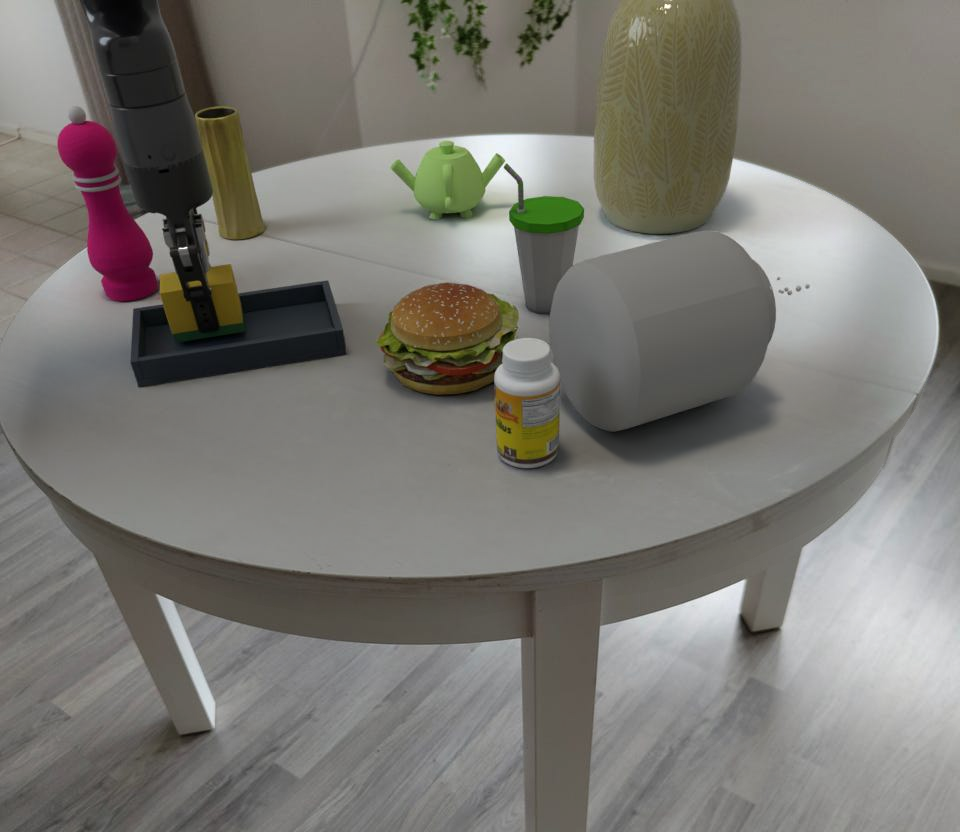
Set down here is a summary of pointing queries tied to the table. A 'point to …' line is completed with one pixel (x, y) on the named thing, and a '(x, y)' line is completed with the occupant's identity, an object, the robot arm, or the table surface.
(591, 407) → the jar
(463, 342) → the food
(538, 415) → the supplement bottle
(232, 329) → the sponge
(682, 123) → the vase
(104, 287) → the pepper mill
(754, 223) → the table surface
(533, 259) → the cup
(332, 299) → the tray
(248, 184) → the vase
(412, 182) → the teapot
